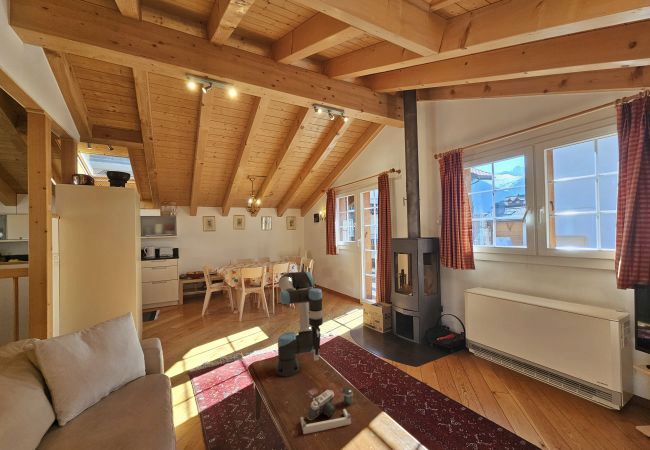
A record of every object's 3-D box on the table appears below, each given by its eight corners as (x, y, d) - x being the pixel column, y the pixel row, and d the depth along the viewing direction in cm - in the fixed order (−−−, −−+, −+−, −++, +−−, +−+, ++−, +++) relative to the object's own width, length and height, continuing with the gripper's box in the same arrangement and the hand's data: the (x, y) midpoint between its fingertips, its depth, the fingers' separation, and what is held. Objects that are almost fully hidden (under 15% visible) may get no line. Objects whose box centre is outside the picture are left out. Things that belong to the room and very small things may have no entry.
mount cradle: (300, 422, 134) (300, 412, 134) (345, 413, 139) (345, 404, 139) (303, 434, 126) (303, 424, 126) (350, 424, 131) (350, 415, 131)
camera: (304, 415, 136) (309, 398, 133) (325, 399, 148) (330, 383, 146) (317, 430, 130) (323, 413, 128) (338, 412, 143) (344, 396, 140)
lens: (341, 401, 149) (341, 388, 149) (351, 399, 150) (351, 386, 150) (344, 407, 144) (344, 393, 144) (354, 405, 145) (354, 392, 145)
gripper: (306, 314, 161) (307, 355, 161) (311, 321, 148) (312, 366, 148) (319, 312, 163) (320, 353, 163) (325, 320, 150) (325, 364, 150)
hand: (316, 359), depth 156 cm, fingers closed
